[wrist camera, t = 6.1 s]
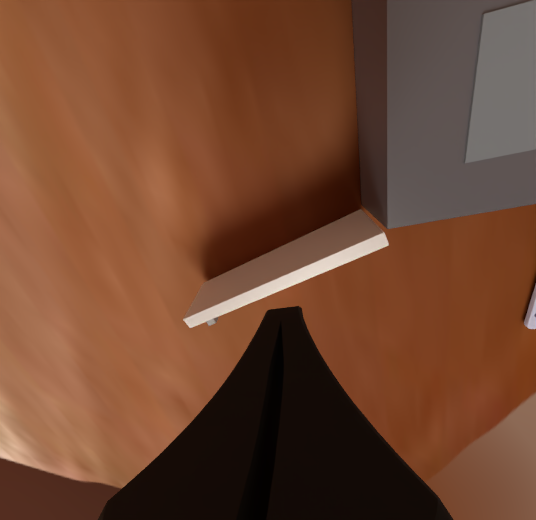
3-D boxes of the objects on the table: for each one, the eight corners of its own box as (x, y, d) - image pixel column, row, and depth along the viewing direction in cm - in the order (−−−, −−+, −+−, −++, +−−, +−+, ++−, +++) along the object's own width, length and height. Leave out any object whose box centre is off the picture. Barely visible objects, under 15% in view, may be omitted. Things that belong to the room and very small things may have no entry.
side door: (360, 208, 16) (384, 232, 13) (369, 231, 17) (394, 260, 13) (203, 283, 20) (182, 319, 16) (215, 299, 21) (199, 338, 17)
